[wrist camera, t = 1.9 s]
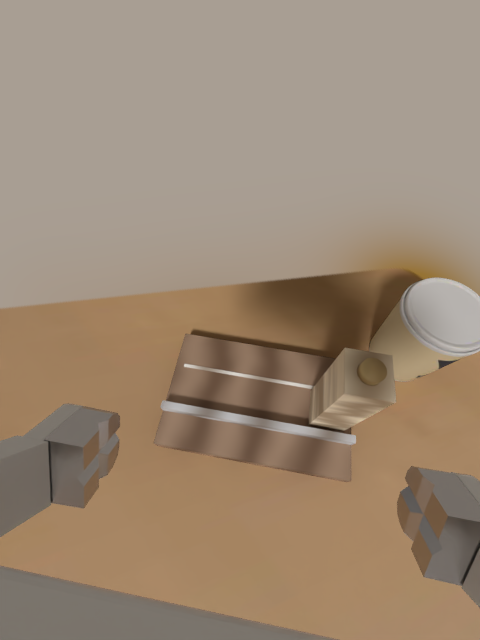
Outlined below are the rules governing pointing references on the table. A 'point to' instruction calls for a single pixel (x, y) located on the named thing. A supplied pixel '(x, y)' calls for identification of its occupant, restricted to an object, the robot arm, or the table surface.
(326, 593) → the table surface
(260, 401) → the board
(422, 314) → the coffee cup
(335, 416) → the beige tall block
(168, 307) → the table surface
